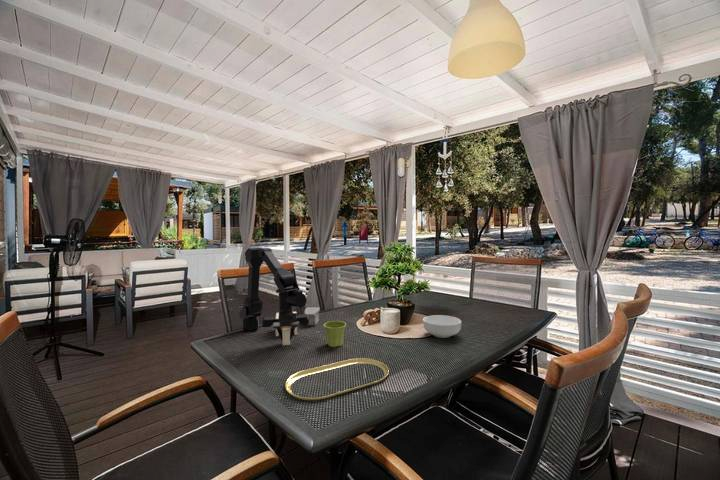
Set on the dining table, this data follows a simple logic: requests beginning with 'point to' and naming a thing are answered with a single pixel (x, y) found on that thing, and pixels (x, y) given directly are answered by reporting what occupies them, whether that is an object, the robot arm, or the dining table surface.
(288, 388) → the serving platter
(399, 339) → the dining table surface
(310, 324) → the decorative stone
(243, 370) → the dining table surface
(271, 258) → the robot arm
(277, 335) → the white open box
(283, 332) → the cream and brown mallet
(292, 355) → the dining table surface
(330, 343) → the plant pot
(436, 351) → the dining table surface
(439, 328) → the cereal bowl
